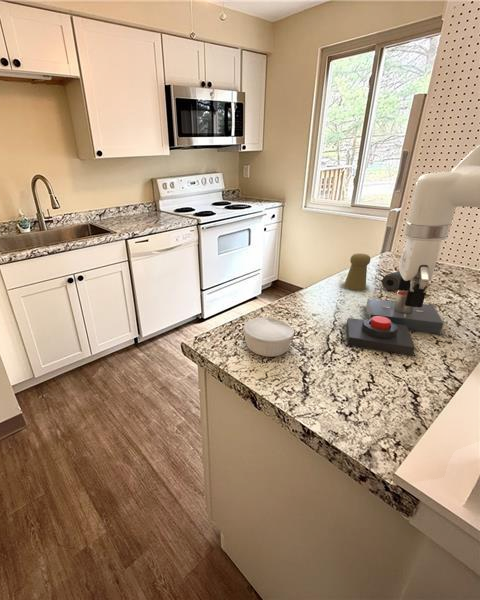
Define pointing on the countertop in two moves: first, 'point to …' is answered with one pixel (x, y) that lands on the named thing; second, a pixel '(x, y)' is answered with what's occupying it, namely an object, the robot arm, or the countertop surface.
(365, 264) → the cork
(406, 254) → the robot arm
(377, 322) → the power button
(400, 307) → the dial
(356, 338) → the switch block
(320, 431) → the countertop surface
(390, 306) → the control panel
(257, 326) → the ramekin
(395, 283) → the flashlight
